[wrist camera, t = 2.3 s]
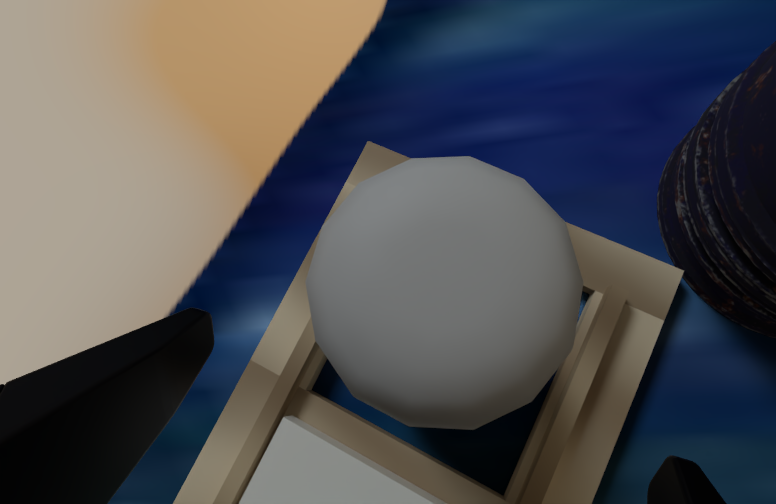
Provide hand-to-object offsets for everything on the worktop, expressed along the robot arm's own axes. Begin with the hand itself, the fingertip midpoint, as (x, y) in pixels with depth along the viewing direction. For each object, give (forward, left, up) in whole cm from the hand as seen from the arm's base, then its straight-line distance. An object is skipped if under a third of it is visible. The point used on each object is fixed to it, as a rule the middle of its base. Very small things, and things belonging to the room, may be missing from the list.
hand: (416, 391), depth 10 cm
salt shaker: (+2, 0, -10) cm, 10 cm away
